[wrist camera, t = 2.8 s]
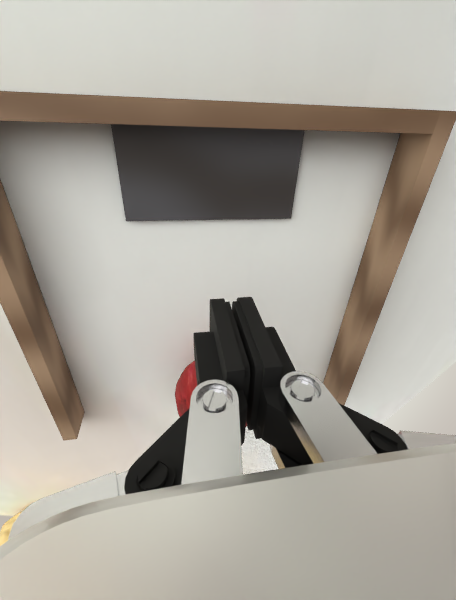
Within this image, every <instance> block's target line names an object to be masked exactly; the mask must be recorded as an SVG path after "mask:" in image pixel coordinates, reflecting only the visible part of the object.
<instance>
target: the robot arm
mask: <svg viewBox="0 0 456 600" xmlns="http://www.w3.org/2000/svg"><path fill="white" fill-rule="evenodd" d="M194 356H195V369H196V378H197V386H196V388H195V389H194V390H193V392H192V395H191V401H190V408H189V409H188V410H187V411H186V412H185V413H184V414H183V415H182V416H181V417H180V418H179V419H178V420H177V421H176V422H175V423H174V424H173V425H172V426H171V427H170V428H169V429H168V430H167V431H166V432H165V433H164V434H163V435H162V436H161V437H160V438H159V439H158V440H157V441H156V442H155V443H154V444H153V445H152V446H151V447H150V448H149V449H148V450H147V451H146V452H145V453H144V454H143V455H142V456H141V457H140V458H139V459H138V460H137V461H136V462H135V463H134V464H133V465H132V466H131V468H130V469H129V470H128V471H125V472H122V473H120V474H117V475H116V472H112V473H109V474H107V475H104V476H101V477H98V478H96V479H93V480H90V481H88V482H85V483H82V484H79V485H77V486H74V487H71V488H69V489H66V490H63V491H60V492H58V493H55V494H52V495H50V496H47V497H44V498H41V499H39V500H38V501H36V502H34V503H32V504H30V505H29V506H28V507H27V508H26V509H25V510H24V511H23V512H21V513H20V515H19V516H18V518H17V519H16V521H15V522H14V523H13V525H12V528H11V531H10V534H9V538H8V541H7V542H5V543H4V544H2V545H1V546H0V600H456V435H445V434H434V433H423V432H410V431H400V432H399V434H396V433H395V432H394V431H393V430H391V429H389V428H388V427H386V426H384V425H382V424H380V423H378V422H376V421H374V420H372V419H370V418H368V417H366V416H364V415H362V414H360V413H358V412H356V411H354V410H352V409H350V408H348V407H346V406H344V405H342V404H340V403H338V402H337V401H336V399H335V398H334V397H333V396H332V394H331V393H330V392H329V390H328V389H327V388H326V387H325V385H324V384H323V383H322V382H321V381H320V380H319V379H318V378H317V377H315V376H314V375H312V374H309V373H307V372H302V371H295V368H294V366H293V364H292V362H291V360H290V358H289V356H288V354H287V352H286V350H285V348H284V346H283V344H282V342H281V340H280V338H279V336H278V334H277V332H276V330H275V328H274V327H265V326H264V323H263V321H262V319H261V317H260V314H259V312H258V310H257V308H256V306H255V303H254V301H253V299H252V297H243V298H237V301H235V302H233V303H232V309H231V306H230V303H229V302H225V300H224V299H210V332H200V333H194ZM246 423H247V427H248V429H249V430H254V434H255V438H256V439H259V438H262V439H263V440H264V441H266V442H267V443H269V444H270V449H271V453H272V455H273V457H274V459H275V462H276V464H277V466H278V468H279V469H277V470H270V471H264V472H257V473H251V474H245V475H243V471H242V453H241V445H242V444H243V443H244V437H245V426H246Z"/></svg>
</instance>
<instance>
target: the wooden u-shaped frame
mask: <svg viewBox="0 0 456 600" xmlns="http://www.w3.org/2000/svg"><path fill="white" fill-rule="evenodd" d="M455 120H456V111H437V110H415V109H392V108H369V107H347V106H324V105H302V104H279V103H256V102H234V101H211V100H189V99H166V98H144V97H121V96H98V95H76V94H53V93H31V92H8V91H0V121H31V122H63V123H96V124H111V126H112V133H113V139H114V146H115V152H116V159H117V165H118V172H119V178H120V185H121V191H122V198H123V204H124V211H125V217H126V221H158V220H222V219H286V218H291V214H292V207H293V201H294V194H295V188H296V181H297V175H298V168H299V162H300V155H301V149H302V142H303V136H304V130H322V131H354V132H386V133H401V134H400V137H399V140H398V143H397V146H396V150H395V153H394V156H393V159H392V163H391V166H390V169H389V172H388V175H387V179H386V182H385V185H384V188H383V192H382V195H381V198H380V201H379V205H378V208H377V211H376V214H375V217H374V221H373V224H372V227H371V230H370V234H369V237H368V240H367V243H366V246H365V250H364V253H363V256H362V259H361V263H360V266H359V269H358V272H357V276H356V279H355V282H354V285H353V288H352V292H351V295H350V298H349V301H348V305H347V308H346V311H345V314H344V318H343V321H342V324H341V327H340V330H339V334H338V337H337V340H336V343H335V347H334V350H333V353H332V356H331V359H330V363H329V366H328V369H327V372H326V376H325V379H324V382H323V384H324V385H325V387H326V388H327V389H328V390H329V392H330V393H331V394H332V396H333V397H334V398H335V399H336V401H337V402H338V403H340V404H342V405H345V402H346V400H347V397H348V395H349V392H350V389H351V387H352V384H353V382H354V379H355V377H356V374H357V371H358V369H359V366H360V364H361V361H362V359H363V356H364V354H365V351H366V348H367V346H368V343H369V341H370V338H371V336H372V333H373V330H374V328H375V325H376V323H377V320H378V318H379V315H380V312H381V310H382V307H383V305H384V302H385V300H386V297H387V295H388V292H389V289H390V287H391V284H392V282H393V279H394V277H395V274H396V271H397V269H398V266H399V264H400V261H401V259H402V256H403V254H404V251H405V248H406V246H407V243H408V241H409V238H410V236H411V233H412V230H413V228H414V225H415V223H416V220H417V218H418V215H419V212H420V210H421V207H422V205H423V202H424V200H425V197H426V195H427V192H428V189H429V187H430V184H431V182H432V179H433V177H434V174H435V171H436V169H437V166H438V164H439V161H440V159H441V156H442V154H443V151H444V148H445V146H446V143H447V141H448V138H449V136H450V133H451V130H452V128H453V125H454V123H455ZM0 303H1V305H2V308H3V310H4V312H5V314H6V316H7V318H8V321H9V323H10V325H11V327H12V329H13V331H14V334H15V336H16V338H17V340H18V342H19V344H20V347H21V349H22V351H23V353H24V355H25V357H26V360H27V362H28V364H29V366H30V368H31V371H32V373H33V375H34V377H35V379H36V381H37V384H38V386H39V388H40V390H41V392H42V394H43V397H44V399H45V401H46V403H47V405H48V407H49V410H50V412H51V414H52V416H53V418H54V421H55V423H56V425H57V427H58V429H59V431H60V434H61V436H62V438H63V440H71V439H77V437H78V433H79V430H80V426H81V423H82V419H83V415H84V410H83V407H82V404H81V401H80V399H79V396H78V393H77V390H76V388H75V385H74V382H73V379H72V376H71V374H70V371H69V368H68V365H67V363H66V360H65V357H64V354H63V352H62V349H61V346H60V343H59V341H58V338H57V335H56V332H55V329H54V327H53V324H52V321H51V318H50V316H49V313H48V310H47V307H46V305H45V302H44V299H43V296H42V293H41V291H40V288H39V285H38V282H37V280H36V277H35V274H34V271H33V269H32V266H31V263H30V260H29V258H28V255H27V252H26V249H25V246H24V244H23V241H22V238H21V235H20V233H19V230H18V227H17V224H16V222H15V219H14V216H13V213H12V211H11V208H10V205H9V202H8V199H7V197H6V194H5V191H4V188H3V186H2V183H1V180H0Z"/></svg>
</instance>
